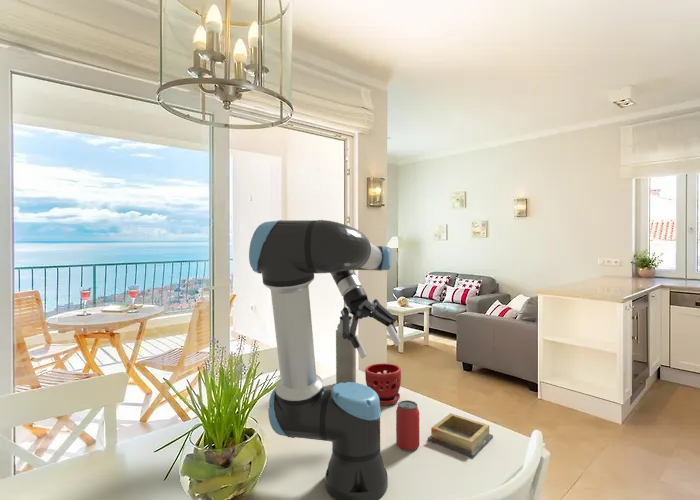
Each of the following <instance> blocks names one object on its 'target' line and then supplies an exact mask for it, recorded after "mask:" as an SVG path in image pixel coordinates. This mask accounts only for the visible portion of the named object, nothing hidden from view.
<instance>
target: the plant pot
mask: <svg viewBox="0 0 700 500" xmlns="http://www.w3.org/2000/svg"><path fill="white" fill-rule="evenodd" d="M364 372H365V373H364V374H365V383H366V384H365V385H366V386H368V387H370V388H372V389H373V390H374V391H375V392H376V393H377V394H378V396H379V400H380V406H386V405H387V406H388V405H392V404H395V403H397V402H398V401H399V400H400V398H401V394H400V393H399V392H400V388H401V383H402V382H401V381H402V369H401V367H400V366H399V365H397V364H394V363H393V364H392V363H386V362H385V363H383V362H382V363H374V364H373V363H372V364H371V365H368V366H367V367H365V369H364ZM385 372H386V373H385Z"/></svg>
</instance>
